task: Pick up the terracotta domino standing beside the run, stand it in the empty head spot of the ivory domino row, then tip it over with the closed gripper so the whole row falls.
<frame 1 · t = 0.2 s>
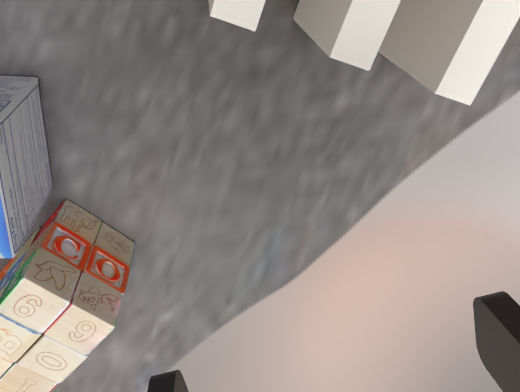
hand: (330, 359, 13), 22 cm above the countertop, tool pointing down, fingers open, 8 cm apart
stack of blocks: (23, 304, 39), on the countertop
ivory domino 2: (401, 13, 31), on the countertop
medicine box: (14, 132, 32), on the countertop
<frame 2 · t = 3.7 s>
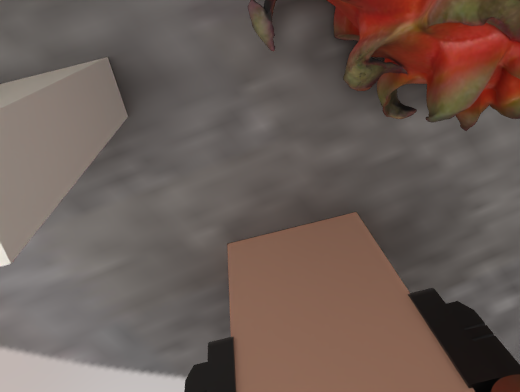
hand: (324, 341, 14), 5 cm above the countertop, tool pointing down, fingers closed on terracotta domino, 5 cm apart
terracotta domino: (296, 250, 19), on the countertop, touching gripper
ivory domino 2: (44, 106, 16), on the countertop
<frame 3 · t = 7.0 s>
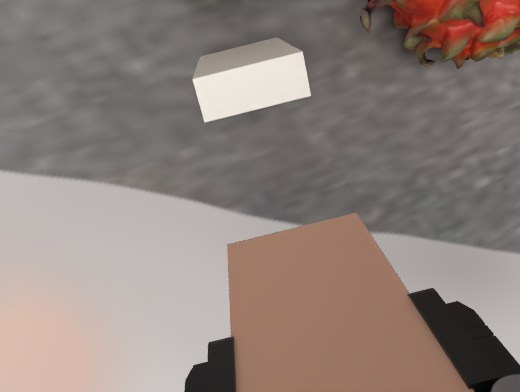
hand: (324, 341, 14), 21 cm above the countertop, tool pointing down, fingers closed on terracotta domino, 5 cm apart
terracotta domino: (297, 251, 19), point 16 cm above the countertop, touching gripper
ivory domino 2: (242, 62, 31), on the countertop
when the fingers open (6 cm above the countertop, at t = 10.1 s): terracotta domino stays where it is, on the countertop.
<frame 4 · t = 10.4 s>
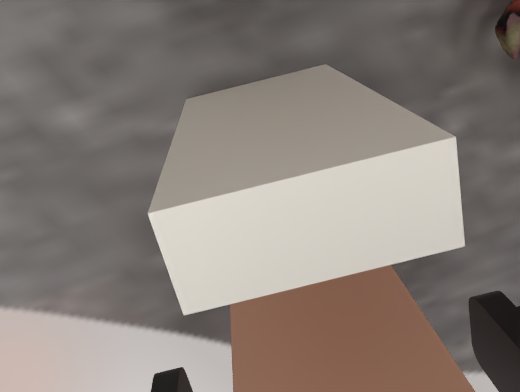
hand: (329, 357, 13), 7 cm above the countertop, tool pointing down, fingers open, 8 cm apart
terracotta domino: (294, 243, 19), on the countertop
ivory domino 2: (262, 109, 17), on the countertop
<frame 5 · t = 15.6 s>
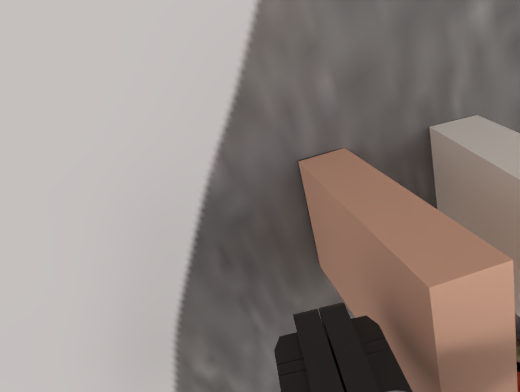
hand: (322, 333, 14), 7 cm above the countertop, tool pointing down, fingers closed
terracotta domino: (332, 209, 21), on the countertop, tilted 7°
dragon fruit: (510, 376, 25), on the countertop
ivory domino 2: (457, 177, 21), on the countertop
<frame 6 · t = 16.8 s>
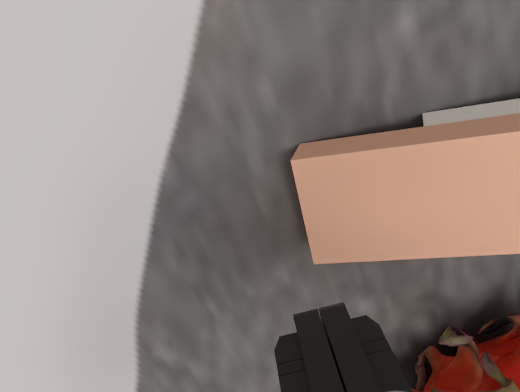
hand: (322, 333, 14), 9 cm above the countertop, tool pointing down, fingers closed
terracotta domino: (306, 204, 22), point 1 cm above the countertop, tilted 69°, touching ivory domino 2
dragon fruit: (453, 361, 27), on the countertop
ivory domino 2: (428, 173, 22), point 1 cm above the countertop, tilted 70°, touching terracotta domino
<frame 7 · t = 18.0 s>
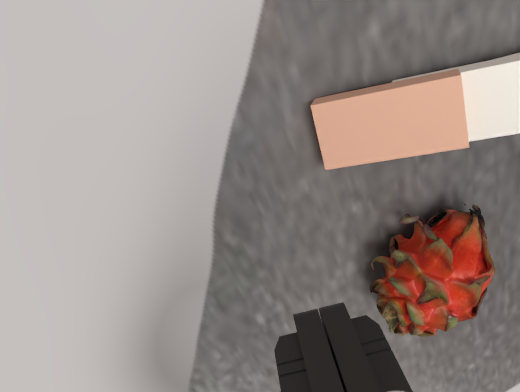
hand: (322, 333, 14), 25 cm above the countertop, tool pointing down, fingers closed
terracotta domino: (320, 134, 36), point 1 cm above the countertop, tilted 71°, touching ivory domino 2
dragon fruit: (415, 248, 42), on the countertop
ivory domino 2: (397, 116, 36), point 1 cm above the countertop, tilted 71°, touching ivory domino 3, terracotta domino
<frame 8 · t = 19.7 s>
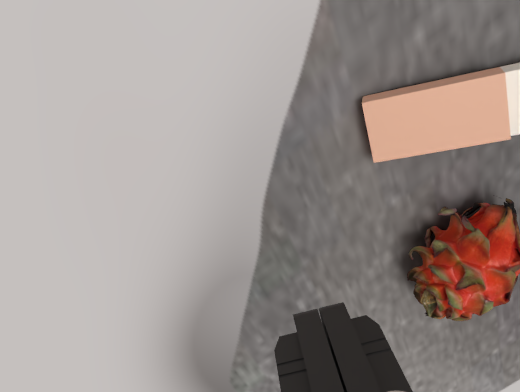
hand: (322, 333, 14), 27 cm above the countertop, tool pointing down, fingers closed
terracotta domino: (368, 129, 39), point 1 cm above the countertop, tilted 71°, touching ivory domino 2
dragon fruit: (447, 239, 45), on the countertop
ivory domino 2: (445, 113, 39), point 1 cm above the countertop, tilted 72°, touching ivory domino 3, terracotta domino
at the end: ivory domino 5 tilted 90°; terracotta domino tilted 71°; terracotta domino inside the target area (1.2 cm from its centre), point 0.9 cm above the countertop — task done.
